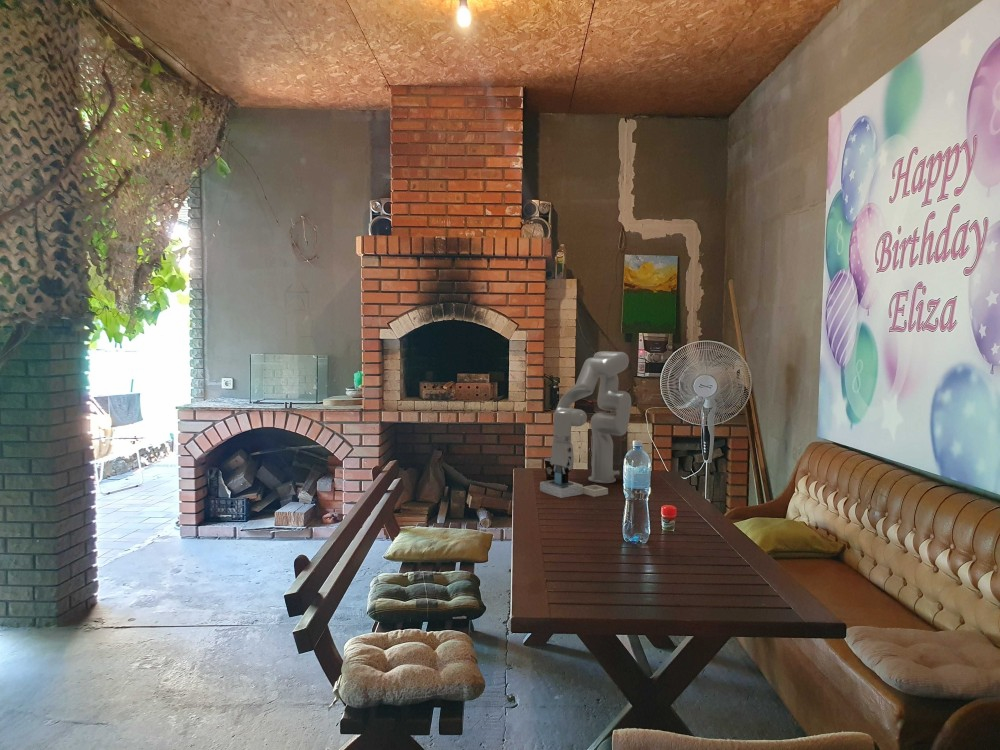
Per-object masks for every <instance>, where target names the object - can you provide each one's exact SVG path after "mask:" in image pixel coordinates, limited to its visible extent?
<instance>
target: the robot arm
mask: <svg viewBox="0 0 1000 750" xmlns="http://www.w3.org/2000/svg"><path fill="white" fill-rule="evenodd" d="M629 363H630V358H629V355H628V354H627V353H626V352H623V351H607V350H605V351H604V350H603V351H598V352H595V353H594V354H593V357H588V358H587V359H586V360H585V361H584V363H583V364H582V367H581V370H580V372H579V375H578V377H577V380H576V383H574V384H575V385H573V387H572V388H570V389H568V390H567V391H566V392H565V393H564V394H563V395H562V396H561V398H560V399H559V401H558V404H557V405H556V408H555V411H554V412H553V427H552V429H553V430H552V431H553V435H552V436H553V437H552V438H553V439H552V445H551V451H550V452H551V453H550V455H551V456H550V458H551V461H550V464H551V465H552V467H553V468H554V472H556V468H557V465H558V466H562V470H563V474H562V483H568V481H569V474H570V472H571V471H572V470H574V464H575V463H574V462H575V461H574V460H575V457H574V447H573V443H572V427H577V428H578V427H582V426H584V425H585V424H586V423H587V420H588V416H587V414H586V412H585V411H584V410H582V409H578V408H571V405H573V404H574V403H575V402H576V401H578V400H581V399H583V398H586V397H589V396H590V395H592V394H593V393H594V391H595V389H596V387H597V385H598V384H597V383H598V380H600V381H599V387H598V394H597V395H598V396H597V407H598V408H599V409H600V410H604V411H612V412H615V413H610V412H597V413H594V414H593V415H592V417H591V418H590V429H591V435H592V437H591V438H592V443H591V444H592V445H591V446H592V449H591V450H592V451H591V453H592V454H591V455H592V457H591V475H590V476H588V478H587V479H588V481H589V482H591V483H597V484H612V483H615V482H616V481H617V479H616V477H615V476H618V475H620V474H621V473H620V471H619V470H613V467H614V461H613V460H614V458H613V457H614V442H613V438H612V437H611V436H613V435H614V436H618V437H619V436H621V437H622V436H624V435H625V434H626V433H627V431H628V430H629V429H628V428H629V424H630V423H629V422H630V417H631V412H632V411H631V410H632V397H631V395H630V393H629V392H627V391H624V390H619V376H618V374H620V373H622V372H623V371H625V370H626V369H627V368H628V366H629V365H630V364H629ZM599 378H600V379H599ZM565 468H566V470H565ZM554 480H555V478H554Z"/></svg>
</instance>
